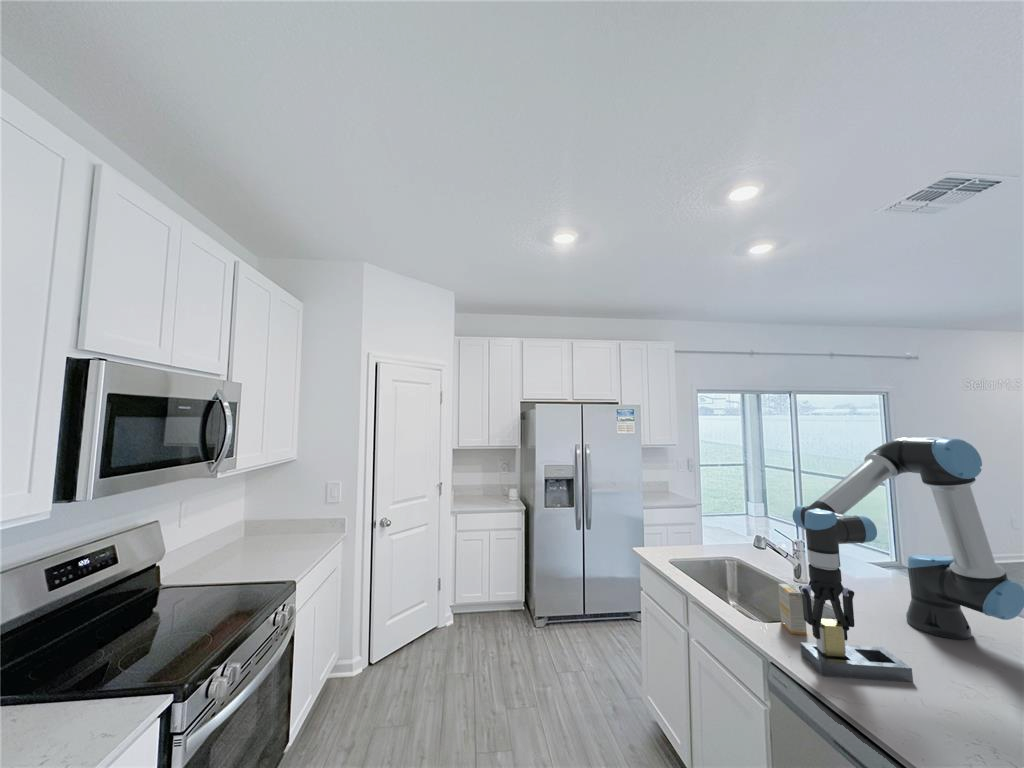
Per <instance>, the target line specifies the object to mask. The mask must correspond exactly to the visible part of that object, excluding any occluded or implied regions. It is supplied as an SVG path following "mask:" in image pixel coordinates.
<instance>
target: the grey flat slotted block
mask: <svg viewBox="0 0 1024 768" xmlns="http://www.w3.org/2000/svg"><path fill="white" fill-rule="evenodd" d="M799 645H800V655H801V656H802V658H804V659H805V661H807V662H808V664H810V665H811V667H812V668H813V669H815V670H816V672H818V674H819V675H820V676H821V677H833V678H846V679H847V678H848V679H860V680H877V681H888V682H889V681H892V682H903V683H905V682H906V683H914V677H913V676H914V675H913V668H912V667H911V666H909V664H907V663H905V662H904V661H902V660H901V659H900V658H898V657H897V656H896V655H894V654H893V653H892V652H890V651H889V650H887V649H886V648H884V647H883V646H866V645H865V646H864V645H854V644H853V645H852V644H851V645H849V644H845V650H846V654H845V657H838V656H827V655H826V654H825V653H822V652H821V651H820V650H819V649H818V648H817V642H816V643H814V642H802V641H801V642H800V643H799Z"/></svg>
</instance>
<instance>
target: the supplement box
mask: <svg viewBox="0 0 1024 768" xmlns="http://www.w3.org/2000/svg"><path fill="white" fill-rule="evenodd" d="M777 586H778V597H779V598H778V599H779V609H780V610H779V611H780V623H781V624H782V623H785V624H782V625H783V626H784V627H785V629H786V630H788V631H789V633H791V634H793V635H803V636H806V635H808V632H807V622H806V621H805V620H804V614H803V603H802V594H801V592H800V590H799V587H797V586H795V585H794V584H792V583H791V584H790V583H778V585H777Z"/></svg>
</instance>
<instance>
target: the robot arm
mask: <svg viewBox="0 0 1024 768" xmlns="http://www.w3.org/2000/svg"><path fill="white" fill-rule="evenodd" d="M863 459H864V462H862V463H861V464H860V465H859V466H857V467H856V468H855V469H854V470H852V471H851V472H850V473H849V474H847V475H846V476H845V477H844V478H842V479H841V480H840V481H839V482H837V484H835V485H834V486H832V488H830V489H828V491H826V492H825V493H824V494H822V495H821V496H820V497H819V498H817V499H816V500H815V501H814V502H813V503H811V504H810V505H798V506H796V507H795V508H794V510H792V519H793V523H794V524H795V525H796V526H797V527H799V528H801V529H803V530H805V539H806V540H805V541H806V551H807V552H806V553H807V562H808V563H809V564H808V576H809V582H808V585H805V586H803V585H800V586H799V587H798V589H799V590H800V592H801V594H802V603H803V614H804V620H805V621H806V624H808V625H810V626H811V628H812V629H811V630H812V635H813V638H815V641H816V643H817V648H818V649H819V650H820V651H821V652H822V653H825V643H824V630H823V628H822V627H821V626H820V625H821V619H823V618H822V617H823V612H824V606H825V604H826V601H830V604H831V606H832V610H833V614H834V616H835V619H836V620H835V621H836V622H837V623H838V624H840V625H841V626H842V627H843V638H844V650H845V645H846V641H848V631H850V628H854V627H855V615H854V614H855V613H854V601H853V600H854V597H855V592H854V591H853V590H851V589H850V588H848V587H844V585H843V584H842V571H841V570H842V569H840V567H841V560H840V559H841V558H840V545H844V544H845V545H846V544H848V545H850V544H864V543H870V542H871V543H872V542H873V541H874V540H876V538H877V536H878V531H877V530H878V529H877V526H876V524H875V523H874V522H873V521H872V520H871V519H870V518H869V517H867V516H864V515H857V514H856V515H855V514H854V515H846V513H848V511H850V510H851V509H852V508H854V507H855V506H856V505H857V504H858V503H859V502H861V501H862V500H863V499H864V498H866V497H867V496H868V495H869V494H871V492H873V491H874V490H875V489H877V488H878V487H879V486H880V485H881V484H883V483H884V482H885V481H886V480H887V479H888V480H889V479H895V478H896V477H897V476H898V475H901V474H905V473H912V474H913V473H914V474H919V475H920V478H921V481H922V484H924V485H925V486H928V487H930V489H931V491H932V495H933V498H934V501H935V504H936V507H937V511H938V513H939V517H940V520H941V524H942V528H943V529H944V533H945V536H946V540H947V542H948V545H949V548H950V552H951V555H952V557H949V556H942V555H934V554H914V555H913V554H912V555H910V556H908V557H907V558H908V559H907V570H908V571H907V573H908V581H909V587H910V598H911V599H910V602H909V606H908V609H907V612H906V613H905V616H906V622H907V623H908V625H910V626H912V628H915V629H917V630H919V631H922V632H924V633H927V634H931V635H933V636H937V637H942V638H944V639H945V638H947V639H952V640H968V639H971V638H972V637H973V634H972V629H971V626H970V624H969V622H968V620H967V619H966V616H965V614H964V612H963V610H962V608H961V607H963V608H966V609H967V608H968V609H970V610H973V611H975V612H979V613H981V614H984V615H985V616H987V617H993V618H996V619H999V620H1004V621H1009V620H1013V619H1015V618H1016V617H1018V616H1019V615H1020V614H1021V613H1022V611H1023V609H1024V588H1023V586H1021V584H1019V583H1018V582H1016V581H1015V580H1012V579H1009V578H1008V575H1007V572H1006V570H1005V568H1004V567H1003V566H1002V565H1000V564H998V563H997V562H996V561H995V558H994V556H993V551H992V549H991V546H990V543H989V540H988V536H987V534H986V530H985V528H984V525H983V522H982V518H981V515H980V512H979V508H978V506H977V503H976V500H975V495H974V493H973V491H972V488H971V486H972V485H973V484H974V483H975V482H976V481H977V479H976V477H978V476H979V475H980V474H981V472H982V470H983V469H982V467H983V461H982V458H981V455H980V453H979V452H978V450H977V449H976V448H975V446H973V445H972V444H971V443H969V442H967V441H965V440H963V439H960V438H951V437H943V436H942V437H922V436H921V437H917V436H915V437H914V436H904V437H899V438H895V439H892V440H890V441H887V442H885V443H883V444H882V445H880V446H878V447H876V448H874V449H873V450H872V451H871V452H869V453H868V454H866V455H865V457H864V458H863ZM811 591H812V592H813V606H812V598H811V595H812V592H811ZM841 595H842V602H841V600H840V596H841ZM841 603H842V606H841ZM842 607H843V608H842ZM845 654H846V650H845Z"/></svg>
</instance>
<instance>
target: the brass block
mask: <svg viewBox="0 0 1024 768" xmlns="http://www.w3.org/2000/svg"><path fill="white" fill-rule="evenodd" d="M820 626H821V627H822V628H823V630H824V643H825V654H826V655H827V656H838V657H845V650H844V638H843V627H842V626H841V625H840V624H838V623H837V620H834V619H832V618H822V619H821V625H820Z"/></svg>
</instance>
